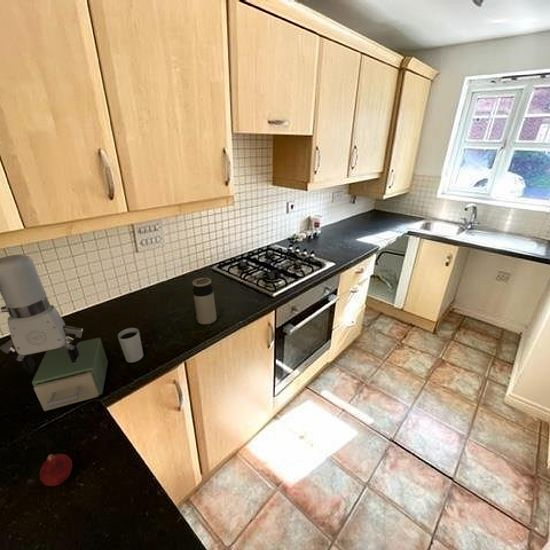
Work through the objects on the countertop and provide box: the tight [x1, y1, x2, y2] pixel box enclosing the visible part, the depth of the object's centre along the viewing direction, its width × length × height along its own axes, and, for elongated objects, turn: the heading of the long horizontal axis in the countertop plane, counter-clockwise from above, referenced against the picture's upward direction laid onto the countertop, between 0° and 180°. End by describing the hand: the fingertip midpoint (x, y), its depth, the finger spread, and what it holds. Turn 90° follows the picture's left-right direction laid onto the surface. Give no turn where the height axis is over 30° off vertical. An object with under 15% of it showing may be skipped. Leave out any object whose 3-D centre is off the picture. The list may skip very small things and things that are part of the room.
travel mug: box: [191, 277, 218, 325], centre depth 123 cm, size 8×8×18 cm
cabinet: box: [31, 337, 109, 396], centre depth 93 cm, size 16×15×10 cm
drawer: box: [33, 371, 100, 412], centre depth 89 cm, size 20×14×8 cm
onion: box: [39, 453, 73, 487], centre depth 66 cm, size 6×6×8 cm
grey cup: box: [117, 327, 144, 363], centre depth 104 cm, size 7×7×10 cm
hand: (54, 364), depth 78 cm, fingers open, 9 cm apart
